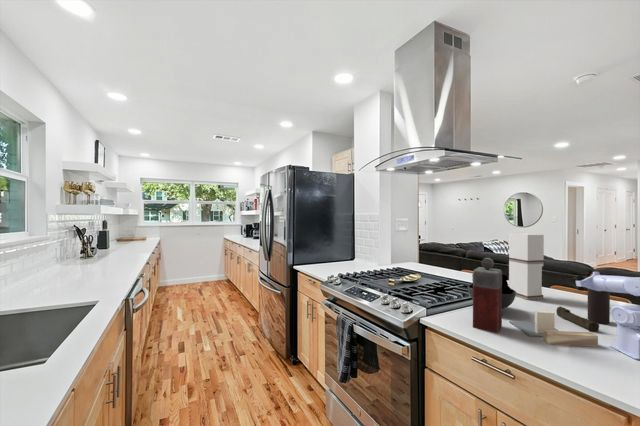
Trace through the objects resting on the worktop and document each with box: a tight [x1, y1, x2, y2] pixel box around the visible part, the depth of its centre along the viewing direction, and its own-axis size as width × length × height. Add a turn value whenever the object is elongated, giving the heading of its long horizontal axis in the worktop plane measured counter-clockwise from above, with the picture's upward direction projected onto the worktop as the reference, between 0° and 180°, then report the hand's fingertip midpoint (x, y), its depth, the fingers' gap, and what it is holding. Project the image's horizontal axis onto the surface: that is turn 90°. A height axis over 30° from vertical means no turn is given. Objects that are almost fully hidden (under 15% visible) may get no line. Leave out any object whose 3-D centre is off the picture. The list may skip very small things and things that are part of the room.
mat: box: [509, 320, 560, 338], centre depth 112 cm, size 14×14×1 cm
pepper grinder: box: [472, 257, 503, 334], centre depth 116 cm, size 9×11×28 cm
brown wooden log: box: [555, 306, 600, 333], centre depth 120 cm, size 19×4×5 cm, turn 174°
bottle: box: [587, 273, 611, 325], centre depth 122 cm, size 7×7×20 cm
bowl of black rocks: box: [467, 268, 517, 310], centre depth 137 cm, size 20×20×19 cm
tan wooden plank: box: [542, 330, 599, 347], centre depth 101 cm, size 3×16×4 cm, turn 84°
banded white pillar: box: [508, 232, 545, 301], centre depth 159 cm, size 11×11×35 cm
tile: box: [534, 310, 555, 333], centre depth 108 cm, size 2×6×8 cm, turn 83°
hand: (575, 280), depth 114 cm, fingers open, 7 cm apart
